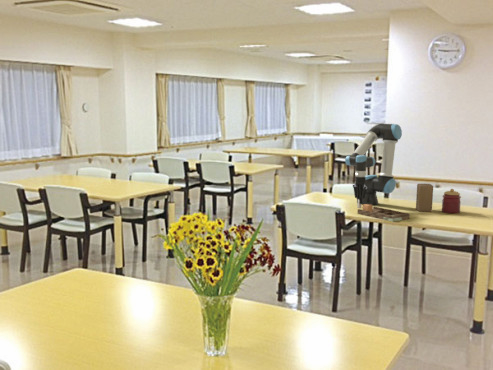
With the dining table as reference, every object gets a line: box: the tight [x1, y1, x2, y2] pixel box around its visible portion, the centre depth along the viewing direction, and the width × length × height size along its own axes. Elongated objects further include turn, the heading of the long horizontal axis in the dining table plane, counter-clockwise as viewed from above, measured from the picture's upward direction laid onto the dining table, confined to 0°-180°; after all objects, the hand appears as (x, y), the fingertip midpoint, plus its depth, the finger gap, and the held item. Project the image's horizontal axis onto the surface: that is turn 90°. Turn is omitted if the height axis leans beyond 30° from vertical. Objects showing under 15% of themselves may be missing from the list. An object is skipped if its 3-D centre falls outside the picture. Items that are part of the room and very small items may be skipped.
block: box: [415, 183, 434, 213], centre depth 400 cm, size 10×10×20 cm
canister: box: [441, 188, 462, 214], centre depth 395 cm, size 13×13×18 cm
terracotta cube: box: [362, 204, 374, 212], centre depth 386 cm, size 5×5×5 cm
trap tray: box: [357, 206, 410, 223], centre depth 380 cm, size 32×18×4 cm, turn 36°
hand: (359, 207), depth 393 cm, fingers closed
